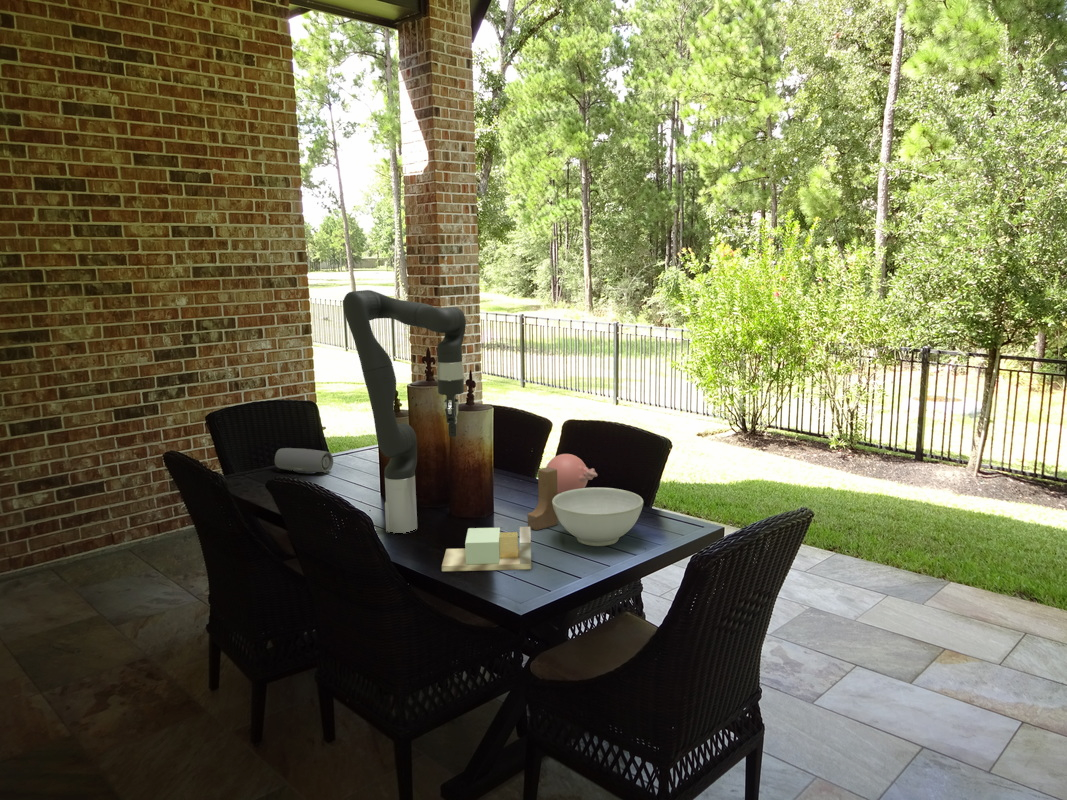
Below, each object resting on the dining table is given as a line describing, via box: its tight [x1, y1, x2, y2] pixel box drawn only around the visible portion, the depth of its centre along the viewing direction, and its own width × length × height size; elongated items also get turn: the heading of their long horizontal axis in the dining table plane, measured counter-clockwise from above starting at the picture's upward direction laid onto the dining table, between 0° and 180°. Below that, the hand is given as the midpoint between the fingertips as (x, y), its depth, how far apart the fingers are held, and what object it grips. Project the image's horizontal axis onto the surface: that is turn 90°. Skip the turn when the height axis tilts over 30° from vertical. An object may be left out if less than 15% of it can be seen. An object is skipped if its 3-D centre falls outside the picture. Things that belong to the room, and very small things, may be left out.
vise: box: [441, 526, 532, 572], centre depth 214 cm, size 24×13×8 cm, turn 91°
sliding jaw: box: [464, 527, 501, 564], centre depth 214 cm, size 9×12×6 cm
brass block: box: [499, 531, 519, 558], centre depth 214 cm, size 5×4×6 cm
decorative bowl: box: [552, 487, 644, 547], centre depth 230 cm, size 27×27×12 cm
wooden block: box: [527, 467, 559, 531], centre depth 242 cm, size 9×4×18 cm, turn 128°
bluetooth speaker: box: [274, 447, 334, 473], centre depth 315 cm, size 23×9×10 cm, turn 69°
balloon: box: [545, 453, 598, 494], centre depth 272 cm, size 15×20×15 cm
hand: (452, 436), depth 226 cm, fingers closed
